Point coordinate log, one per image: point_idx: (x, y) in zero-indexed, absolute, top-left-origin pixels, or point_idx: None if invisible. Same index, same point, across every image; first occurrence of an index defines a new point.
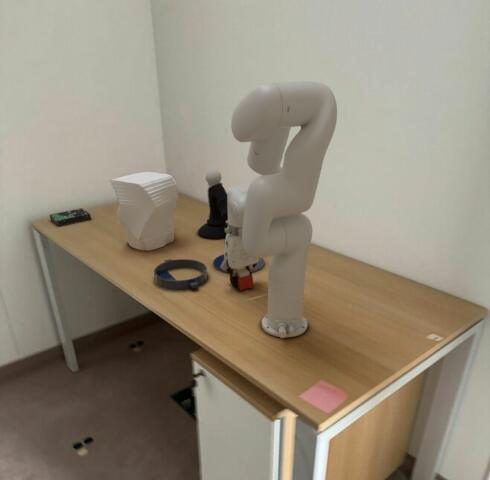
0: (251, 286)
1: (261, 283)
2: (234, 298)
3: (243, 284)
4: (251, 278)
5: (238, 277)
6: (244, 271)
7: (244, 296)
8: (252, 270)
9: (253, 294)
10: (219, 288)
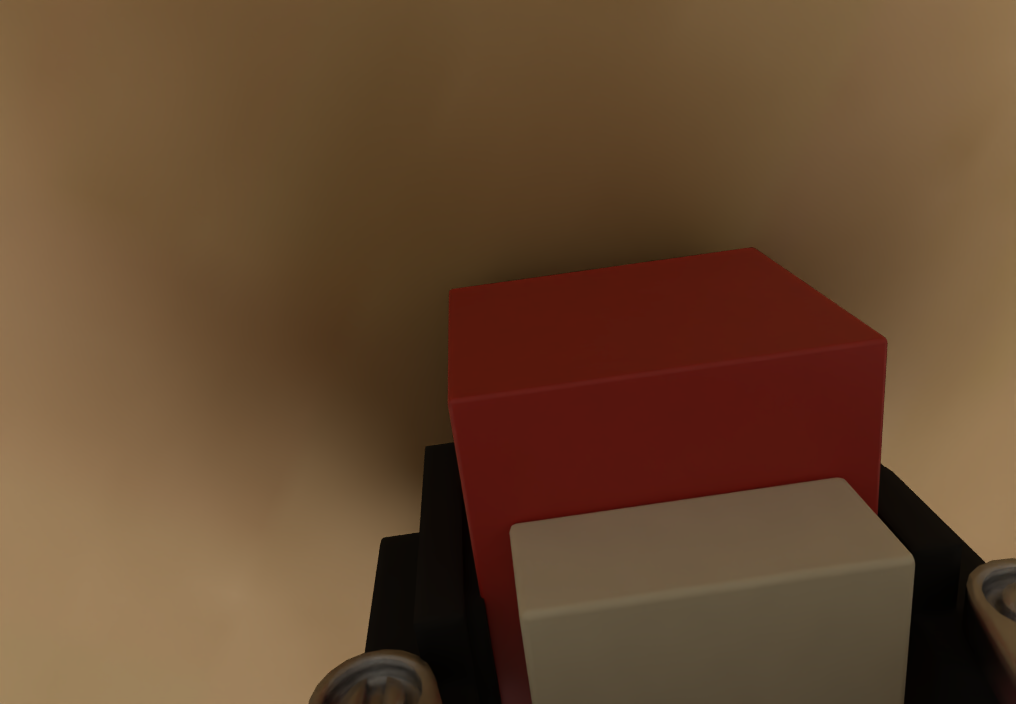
0: (484, 292)
1: (173, 459)
2: (983, 47)
3: (738, 294)
4: (496, 373)
5: (875, 502)
6: (693, 650)
7: (749, 45)
8: (340, 698)
9: (523, 53)
10: (982, 539)
